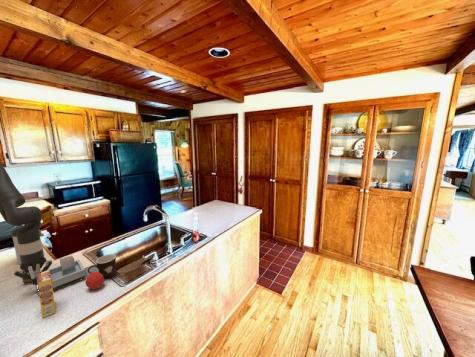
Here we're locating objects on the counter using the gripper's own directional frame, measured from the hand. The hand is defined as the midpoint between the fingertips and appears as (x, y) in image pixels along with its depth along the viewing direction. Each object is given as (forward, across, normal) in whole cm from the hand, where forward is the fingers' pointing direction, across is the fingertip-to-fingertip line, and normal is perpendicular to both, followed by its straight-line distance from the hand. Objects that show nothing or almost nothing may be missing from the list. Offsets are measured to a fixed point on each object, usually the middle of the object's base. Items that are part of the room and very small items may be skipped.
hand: (37, 284), depth 92 cm
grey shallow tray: (+4, +10, 0) cm, 11 cm away
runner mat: (+4, +13, 0) cm, 13 cm away
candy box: (+4, +2, -19) cm, 19 cm away
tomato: (+4, +19, -18) cm, 27 cm away
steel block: (0, +12, 0) cm, 12 cm away
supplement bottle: (+4, -2, +13) cm, 13 cm away
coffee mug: (+4, +24, -12) cm, 27 cm away
